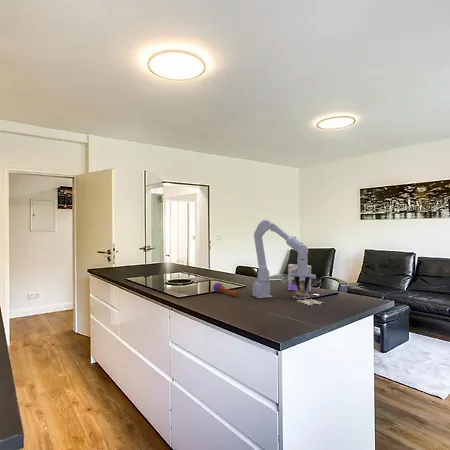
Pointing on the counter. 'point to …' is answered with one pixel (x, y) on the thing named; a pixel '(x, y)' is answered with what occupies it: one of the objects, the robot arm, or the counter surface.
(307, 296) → the ink pad
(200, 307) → the counter surface
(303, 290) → the stamp
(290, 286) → the candy box
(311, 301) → the board
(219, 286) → the maraca
